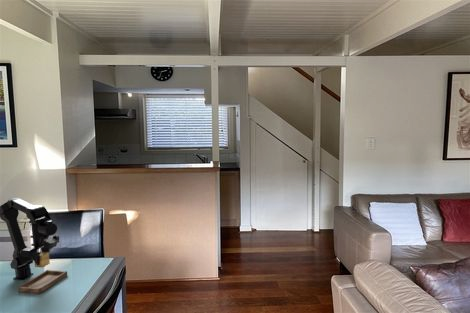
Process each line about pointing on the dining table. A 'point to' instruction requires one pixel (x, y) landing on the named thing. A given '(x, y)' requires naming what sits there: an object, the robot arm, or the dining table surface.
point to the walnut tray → (42, 282)
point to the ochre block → (43, 259)
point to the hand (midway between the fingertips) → (42, 262)
